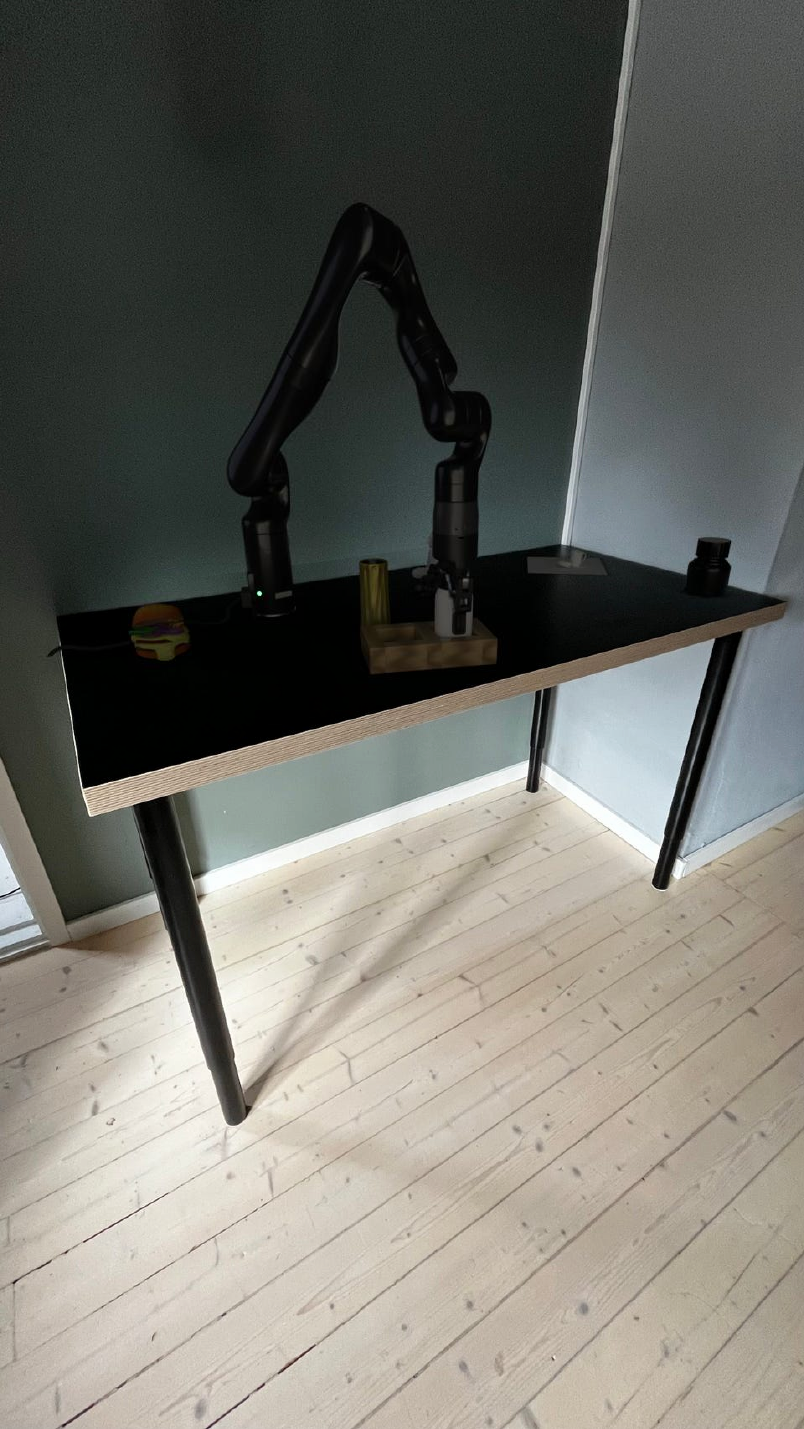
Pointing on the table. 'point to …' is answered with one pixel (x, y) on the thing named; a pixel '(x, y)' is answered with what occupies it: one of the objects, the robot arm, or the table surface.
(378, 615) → the vase
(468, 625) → the can
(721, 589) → the ink bottle
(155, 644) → the cheeseburger
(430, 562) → the sitting furry creature
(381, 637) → the holder
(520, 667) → the table surface
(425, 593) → the fruit
